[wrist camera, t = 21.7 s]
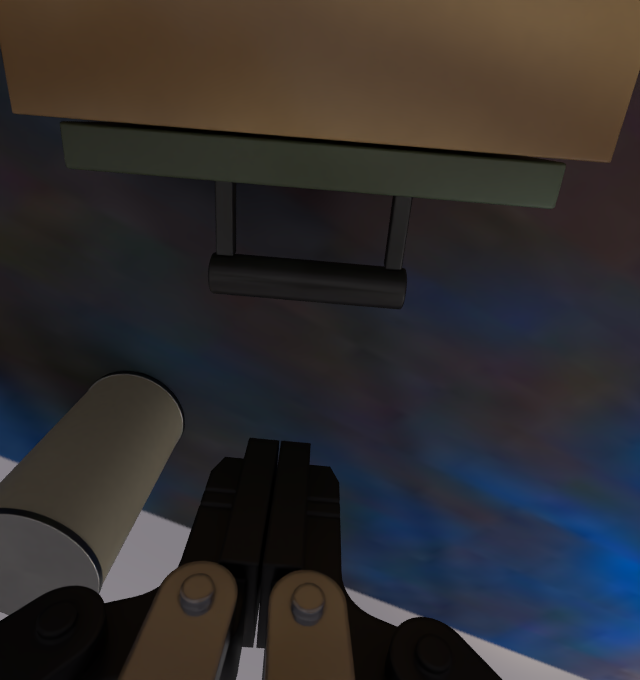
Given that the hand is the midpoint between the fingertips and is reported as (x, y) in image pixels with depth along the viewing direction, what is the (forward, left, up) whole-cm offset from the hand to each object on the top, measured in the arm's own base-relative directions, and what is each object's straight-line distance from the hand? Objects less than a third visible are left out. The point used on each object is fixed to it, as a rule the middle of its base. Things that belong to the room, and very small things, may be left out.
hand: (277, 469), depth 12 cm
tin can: (-9, -8, -12) cm, 17 cm away
